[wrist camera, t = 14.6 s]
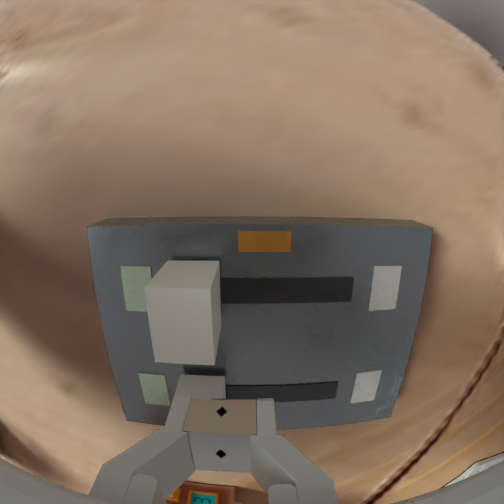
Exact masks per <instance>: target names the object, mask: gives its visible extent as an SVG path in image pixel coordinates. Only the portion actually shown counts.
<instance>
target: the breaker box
mask: <svg viewBox="0 0 504 504" xmlns="http://www.w3.org/2000/svg"><path fill="white" fill-rule="evenodd" d="M87 230H88V241H89V250H90V258H91V266H92V273H93V280H94V287H95V293H96V299H97V305H98V310H99V315H100V320H101V325H102V330H103V335H104V339H105V344H106V348H107V352H108V357H109V361H110V365H111V368H112V372H113V376H114V380H115V383H116V387H117V390H118V394H119V397H120V400H121V404H122V407H123V410H124V413H125V416H126V419H127V421H133V422H140V423H147V424H155V425H163V426H165V423H166V420H167V417H168V414H169V411H170V408H171V404H172V401H173V398H174V394H175V391H176V388H177V385H178V381H179V378H180V375H181V374H183V375H202V376H225V388H226V399H256V400H257V399H265V398H273V399H274V405H275V417H276V428H277V430H279V429H298V428H312V427H323V426H333V425H341V424H349V423H357V422H364V421H370V420H376V419H382V418H387V417H390V416H391V413H392V411H393V408H394V405H395V402H396V399H397V396H398V393H399V390H400V387H401V383H402V380H403V377H404V373H405V370H406V367H407V363H408V359H409V356H410V352H411V348H412V344H413V340H414V336H415V332H416V328H417V323H418V319H419V314H420V309H421V305H422V299H423V294H424V289H425V283H426V277H427V270H428V264H429V257H430V249H431V241H432V232H433V228H432V227H429V226H426V225H424V224H421V223H418V222H415V221H412V220H390V219H363V218H325V217H167V218H129V219H106V220H103V221H101V222H98V223H96V224H93V225H90V226H88V227H87ZM167 261H219V264H220V297H221V330H220V336H219V342H218V348H217V354H216V360H215V365H195V364H176V363H161V362H155V358H154V352H153V346H152V340H151V334H150V327H149V320H148V312H147V305H146V297H145V288H144V287H145V286H146V285H147V284H148V283H149V282H150V280H151V279H152V278H153V277H154V276H155V275H156V273H157V272H158V271H159V270H160V269H161V268H162V267H163V265H164V264H165V263H166V262H167Z"/></svg>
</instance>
